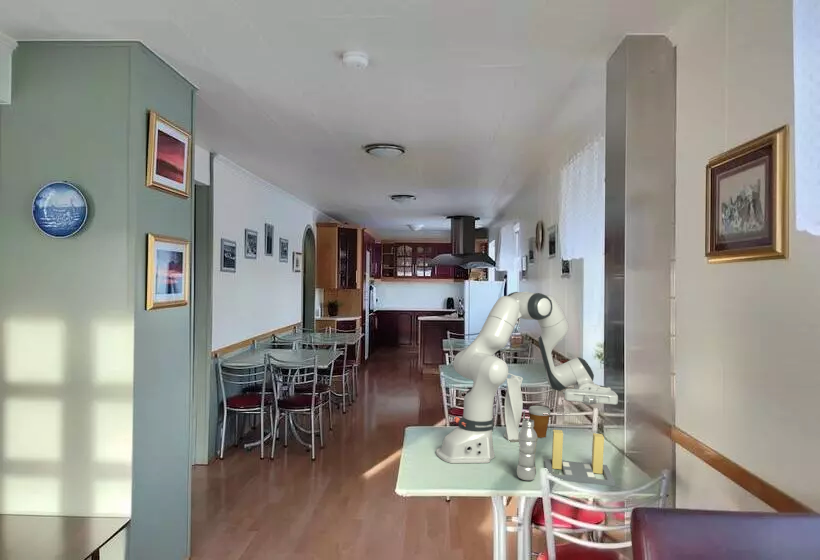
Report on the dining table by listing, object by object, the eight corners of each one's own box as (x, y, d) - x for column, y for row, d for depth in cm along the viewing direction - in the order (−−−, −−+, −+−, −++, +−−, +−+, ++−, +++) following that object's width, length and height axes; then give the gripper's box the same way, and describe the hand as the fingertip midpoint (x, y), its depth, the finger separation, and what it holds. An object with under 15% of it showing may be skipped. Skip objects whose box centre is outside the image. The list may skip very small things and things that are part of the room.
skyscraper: (507, 442, 220) (510, 375, 219) (499, 436, 228) (502, 371, 227) (525, 441, 222) (529, 375, 221) (517, 435, 230) (520, 371, 229)
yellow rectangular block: (561, 469, 191) (563, 433, 191) (552, 468, 192) (554, 432, 191) (560, 465, 195) (562, 430, 195) (551, 464, 196) (553, 429, 195)
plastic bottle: (539, 479, 181) (542, 420, 181) (529, 484, 176) (532, 424, 176) (522, 473, 186) (525, 416, 185) (512, 478, 181) (515, 420, 180)
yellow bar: (602, 473, 188) (604, 437, 188) (592, 472, 189) (594, 436, 189) (600, 469, 192) (602, 434, 192) (591, 468, 193) (592, 433, 193)
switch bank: (614, 486, 178) (615, 481, 178) (547, 478, 182) (547, 473, 182) (606, 469, 194) (606, 464, 194) (544, 462, 198) (544, 458, 198)
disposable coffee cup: (541, 440, 225) (542, 412, 224) (522, 434, 232) (524, 407, 231) (554, 436, 231) (555, 408, 231) (535, 430, 238) (536, 404, 238)
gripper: (562, 383, 221) (565, 390, 207) (614, 387, 217) (621, 395, 203) (561, 398, 221) (565, 406, 207) (613, 403, 217) (620, 411, 203)
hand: (593, 401), depth 205 cm, fingers closed
